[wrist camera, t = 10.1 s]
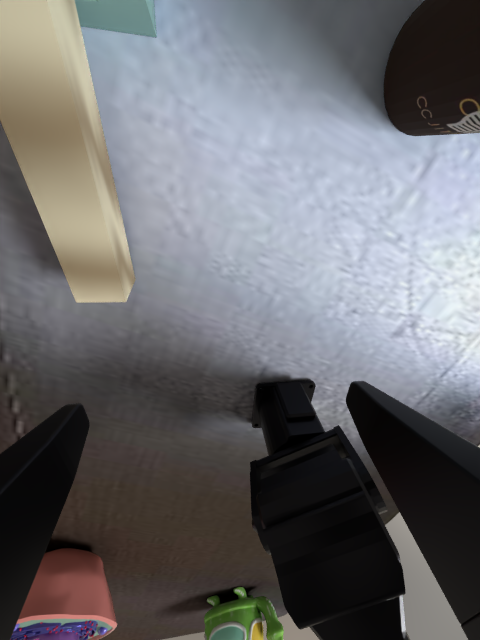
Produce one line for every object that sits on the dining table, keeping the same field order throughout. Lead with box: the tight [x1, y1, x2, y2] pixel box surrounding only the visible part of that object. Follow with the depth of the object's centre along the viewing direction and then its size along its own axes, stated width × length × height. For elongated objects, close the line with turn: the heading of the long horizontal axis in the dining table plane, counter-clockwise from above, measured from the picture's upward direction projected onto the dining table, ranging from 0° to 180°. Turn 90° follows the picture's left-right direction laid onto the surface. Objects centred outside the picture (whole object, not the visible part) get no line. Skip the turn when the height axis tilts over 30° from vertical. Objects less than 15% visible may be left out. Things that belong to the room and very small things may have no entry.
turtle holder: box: [204, 587, 283, 640], centre depth 54 cm, size 12×18×12 cm
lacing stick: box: [0, 0, 135, 302], centre depth 11 cm, size 20×3×3 cm, turn 177°
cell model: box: [10, 548, 117, 640], centre depth 32 cm, size 17×20×11 cm
